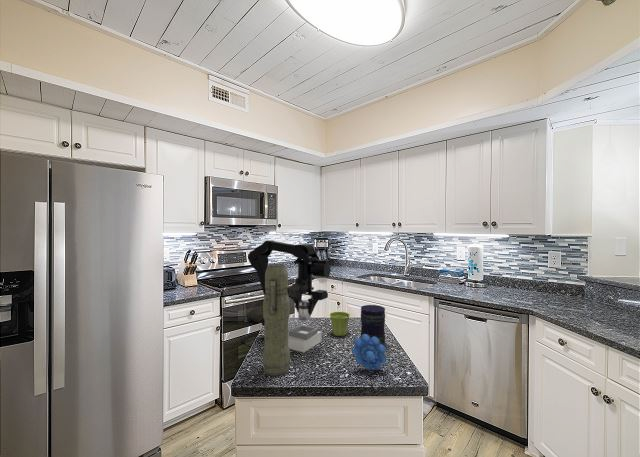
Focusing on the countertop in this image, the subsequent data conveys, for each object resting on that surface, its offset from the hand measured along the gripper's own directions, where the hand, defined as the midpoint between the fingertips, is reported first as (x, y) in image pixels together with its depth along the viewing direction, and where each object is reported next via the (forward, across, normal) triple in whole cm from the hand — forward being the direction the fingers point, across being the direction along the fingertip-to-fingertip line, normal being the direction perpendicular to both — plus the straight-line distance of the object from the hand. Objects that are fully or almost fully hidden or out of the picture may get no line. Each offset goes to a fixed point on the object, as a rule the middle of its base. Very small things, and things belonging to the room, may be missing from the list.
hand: (304, 313), depth 116 cm
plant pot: (+13, +7, +19) cm, 24 cm away
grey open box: (+13, -1, 0) cm, 13 cm away
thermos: (+13, +3, -21) cm, 25 cm away
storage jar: (+13, +24, +15) cm, 31 cm away
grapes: (+12, +31, -7) cm, 34 cm away
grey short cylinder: (+2, 0, 0) cm, 2 cm away
